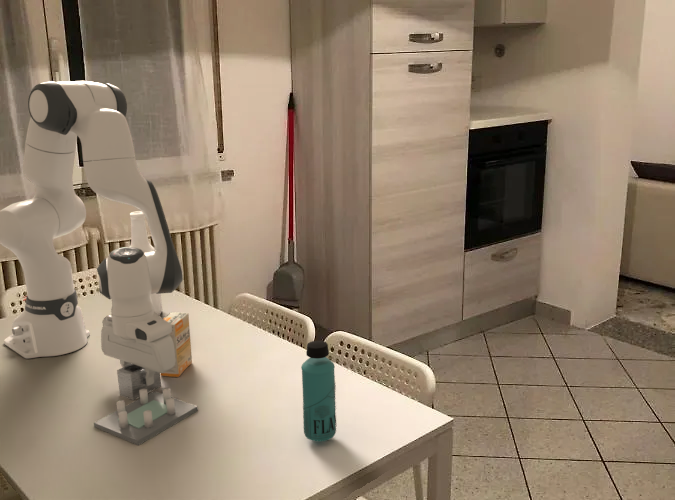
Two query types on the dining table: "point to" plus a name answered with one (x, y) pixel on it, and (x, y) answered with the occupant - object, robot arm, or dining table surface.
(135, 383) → the block
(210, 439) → the dining table surface
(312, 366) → the beverage bottle
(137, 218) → the alcohol
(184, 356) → the supplement box
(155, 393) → the pin tray
